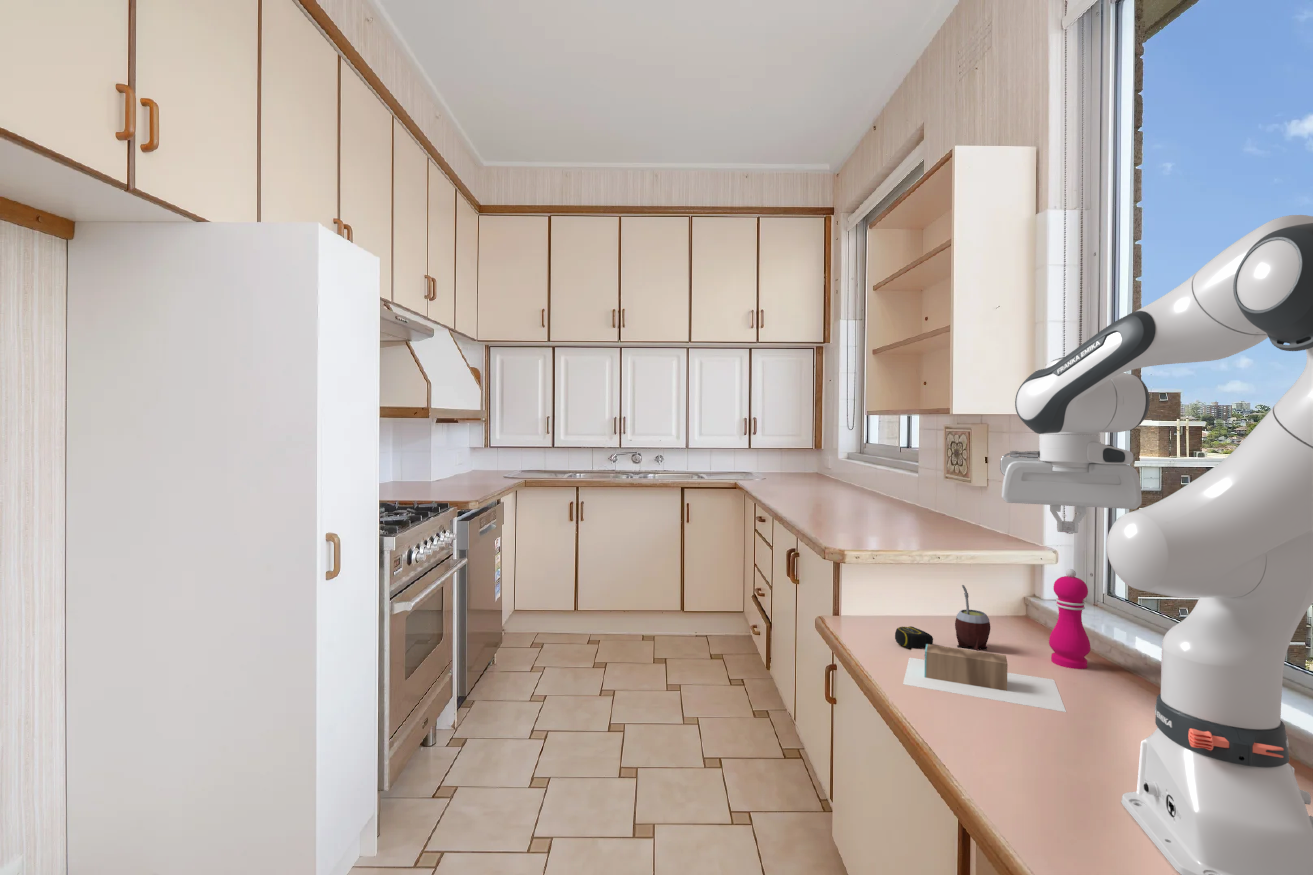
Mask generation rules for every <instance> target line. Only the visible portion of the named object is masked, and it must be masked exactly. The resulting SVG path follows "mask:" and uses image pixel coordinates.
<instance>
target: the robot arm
mask: <svg viewBox="0 0 1313 875" xmlns="http://www.w3.org/2000/svg"><path fill="white" fill-rule="evenodd" d="M1266 339H1269V341H1270V342H1271V344H1272V345H1273V347H1276V348H1277V349H1278V350H1281V351H1285V352H1286V351H1287V352H1300V351H1305V354H1306V364H1305V367H1304V370H1303V371H1302V373H1301V374H1300V376H1299V377H1298V378H1297V380H1296V381H1295V382H1294V383H1293V385H1292V386H1291V387H1289V389H1288V390H1287V391H1286V392H1285V393H1284V394H1283V395H1282V396H1281V397H1280V399H1279V400H1278V401H1277V402H1275V404H1274V406H1273V407H1272V408H1271V409H1270V410H1269V411H1268V413H1266V415H1264V417H1263V418H1262V419H1261V420H1260V422H1258V423H1257V425H1256V426H1255V427H1254V428H1253V429H1252V430H1251V431H1250V433H1249V434H1247V436H1245V438H1244V439H1243V441H1241V443H1240V444H1239V445H1238V446H1237V447H1236V448H1235V449H1234V450H1233V451H1232V452H1231V453H1230V454H1229V455H1228V456H1227V457H1225V458H1224V459H1223V460H1222V461H1220V462H1219V463H1218V464H1216V465H1214V467H1212V468H1210V469H1209V470H1208V471H1205V473H1203V474H1202V475H1200V476H1199V477H1197V478H1196V479H1194V480H1192V481H1191V482H1189V483H1188V484H1187V485H1184V486H1183V487H1182V488H1180V489H1178V490H1176V491H1175V492H1173V493H1172V494H1169V495H1168V496H1167V497H1166V496H1165V497H1164V498H1162V499H1160V500H1159V501H1157V502H1154V503H1152V504H1150V505H1147V506H1145V507H1142V508H1139V507H1140V506H1141V505H1142V502H1143V501H1142V487H1141V480H1140V476H1139V473H1138V471H1137V470H1136V468H1135V467H1134V466H1131V465H1130V464H1132V463H1133V461H1134V454H1133V452H1131V451H1130V450H1128V449H1123V448H1119V447H1115V446H1114V445H1111V444H1104V443H1101V434H1100V433H1122V432H1128V431H1129V432H1130V431H1132V430H1134V429H1136V428H1137V427H1139V426H1140V425H1141V424H1142V423H1143V422H1144V421H1145V419H1146V417H1147V415H1148V413H1149V409H1150V404H1151V397H1150V393H1149V389H1148V387H1147V385H1146V383H1145V382H1144V381H1143V380H1142V378H1140V377H1139V376H1137V375H1136V374H1133V373H1127V372H1128V371H1129V372H1130V371H1134V370H1136V369H1142V368H1149V367H1154V366H1155V367H1156V366H1162V365H1163V366H1164V365H1175V364H1189V363H1202V362H1211V361H1218V360H1222V359H1226V358H1229V357H1232V356H1234V355H1236V354H1239V353H1241V352H1244V351H1246V350H1249V349H1251V348H1253V347H1255V346H1257V345H1258V344H1260V343H1262V342H1263V341H1265V340H1266ZM1014 402H1015V404H1014V407H1015V412H1016V414H1017V416H1018V417H1019V419H1020V420H1021V421H1022V423H1023V424H1024V425H1026V426H1027V428H1029V429H1030V430H1031V431H1032V432H1034V433H1035V434H1037V435H1039V436H1038V442H1039V443H1038V450H1037V451H1035V450H1032V451H1031V450H1029V451H1028V450H1026V451H1019V450H1010V451H1009V452H1008V453H1004V455H1002V456H1001V458H1000V460H999V471H1000V472H1001V474H1002V475H1003V480H1002V483H1001V484H1002V486H1001V499H1003V501H1004V502H1006V503H1008V504H1010V503H1011V504H1022V505H1023V504H1025V505H1026V504H1028V505H1043V506H1044V505H1046V506H1049V512H1050V513H1051V515H1052V517H1054V519H1055V520H1056V531H1057V532H1059V533H1070V534H1071V533H1072V534H1078V533H1079V523H1081V521H1082V520H1083V519H1084V517H1085V516H1086V514H1087V507H1088V508H1089V507H1090V508H1101V509H1103V508H1106V509H1107V508H1108V509H1124V510H1125V509H1127V510H1134V511H1129V512H1127V513H1124V514H1122V515H1121V516H1119V517H1118V518H1117V519H1116V520H1115V521H1114V523H1113V524H1112V526H1111V528H1110V529H1109V532H1108V535H1107V540H1106V555H1107V557H1108V560H1109V563H1110V566H1111V568H1112V570H1113V571H1114V573H1115V574H1116V576H1118V578H1119V579H1120V580H1121V581H1122V582H1124V583H1125V585H1127V586H1129V587H1131V588H1132V589H1136V590H1138V591H1143V592H1148V593H1151V594H1158V595H1162V596H1167V597H1171V598H1182V599H1184V598H1190V599H1191V598H1198V599H1197V602H1196V604H1195V606H1194V607H1193V609H1192V610H1191V612H1190V613H1189V614H1188V615H1187V616H1186V617H1185V618H1184V619H1182V620H1181V621H1180V622H1178V623H1177V624H1174V625H1173V626H1172V627H1171V628H1169V630H1168V631H1167V632H1166V633H1165V634H1164V637H1163V639H1162V640H1161V666H1160V667H1161V668H1160V671H1161V672H1160V693H1159V694H1158V695H1157V696H1156V699H1155V700H1156V702H1155V705H1154V714H1155V721H1154V722H1155V725H1156V727H1157V728H1156V729H1155V731H1154V732H1152V733H1151V734H1150V735H1149V736H1148V737H1146V738H1143V739H1142V740H1141V742H1140V748H1139V758H1138V759H1139V760H1138V761H1139V762H1138V772H1137V786H1136V790H1135V791H1130V792H1129V791H1127V792H1125V793H1123V794H1122V796H1121V804H1122V806H1123V807H1124V809H1126V811H1127V812H1128V813H1129V814H1130V815H1131V817H1132V818H1133V819H1134V820H1135V822H1136V823H1137V825H1139V826H1140V828H1141V829H1142V830H1143V831H1144V833H1145V834H1146V835H1147V836H1148V838H1150V839H1149V840H1151V842H1153V844H1154V845H1155V846H1156V848H1158V850H1159V851H1160V852H1161V853H1162V855H1163V856H1164V857H1165V858H1166V859H1167V861H1168V862H1169V863H1170V865H1171V866H1172V868H1174V869H1175V871H1177V872H1178V874H1180V875H1313V816H1311V815H1309V813H1308V809H1307V807H1306V805H1311V803H1312V799H1311V793H1310V792H1309V791H1306V790H1303V789H1300V786H1299V783H1298V781H1297V778H1296V775H1295V768H1294V767H1293V766H1292V765H1291V764H1290V763H1289V762H1290V755H1289V754H1290V753H1289V745H1290V744H1289V737H1288V735H1287V732H1286V731H1287V730H1286V725H1285V723H1284V722H1283V720H1282V719H1281V717H1282V715H1281V714H1282V713H1281V712H1282V695H1283V693H1282V692H1283V681H1284V680H1283V679H1284V666H1285V660H1286V656H1287V653H1288V649H1289V647H1290V644H1291V641H1292V639H1293V637H1294V634H1295V632H1296V630H1297V629H1298V626H1299V624H1300V623H1301V621H1302V620H1303V618H1304V616H1305V614H1306V613H1307V611H1308V609H1309V608H1310V607H1311V606H1312V605H1313V215H1307V214H1291V215H1284V216H1280V217H1278V218H1273V219H1271V220H1269V221H1267V222H1266V223H1264V224H1262V225H1260V226H1258V227H1257V228H1254V230H1252V231H1250V232H1248V233H1247V234H1245V235H1244V236H1241V238H1239V239H1238V240H1236V241H1235V242H1233V243H1231V244H1230V245H1229V246H1228V247H1226V248H1224V249H1223V250H1222V251H1221V252H1220V253H1218V254H1217V255H1216V256H1214V257H1213V258H1212V259H1211V260H1209V261H1208V262H1207V263H1205V265H1203V266H1202V267H1201V268H1199V269H1198V270H1197V271H1196V272H1195V273H1194V274H1192V275H1191V276H1189V278H1187V279H1186V280H1185V281H1183V282H1182V283H1180V284H1179V285H1178V286H1176V287H1175V288H1173V289H1172V290H1170V291H1169V292H1167V293H1165V294H1164V295H1163V296H1161V297H1159V298H1158V299H1155V300H1154V301H1152V302H1150V303H1149V304H1147V305H1144V306H1143V307H1141V308H1139V309H1137V310H1135V311H1133V312H1130V313H1129V314H1127V315H1124V316H1123V317H1121V318H1118V319H1117V320H1116V321H1114V322H1112V323H1110V324H1109V325H1107V326H1106V327H1105V328H1103V329H1102V330H1100V331H1098V332H1097V333H1096V334H1094V335H1093V336H1091V337H1090V338H1089V339H1088V340H1086V341H1084V342H1083V343H1082V344H1081V345H1080V346H1078V347H1076V348H1075V349H1074V350H1072V351H1071V352H1070V353H1068V354H1067V355H1065V356H1064V357H1059V358H1056V359H1053V360H1052V361H1050V362H1047V364H1046V365H1045V367H1044V368H1042V369H1038V370H1035V371H1034V372H1033V373H1031V374H1030V375H1029V376H1028V377H1027V378H1025V380H1024V381H1023V382H1022V384H1021V385H1020V386H1019V388H1018V390H1017V391H1016V395H1015V401H1014ZM1063 506H1064V507H1065V506H1066V507H1067V506H1068V507H1074V512H1075V513H1077V514H1076V515H1075V516H1074V518H1073V519H1072V521H1068V520H1062V518H1061V517H1060V515H1059V513H1061V510H1062V507H1063ZM1138 508H1139V509H1138Z"/></svg>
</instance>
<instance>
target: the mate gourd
mask: <svg viewBox="0 0 1313 875" xmlns="http://www.w3.org/2000/svg"><path fill="white" fill-rule="evenodd" d="M961 587H962V589H963V592H964V593H963V594H964V599H965V606H966V607H965V609H961V610H959V611H958V612H957V614H956V617H955V620H954V628H955V635H956V640H957V645H956V646H957V647H956V648H958V649H965V650H972V651H979V652H980V650H984V651H985V650H986V651H987V650H988V646H987V643H988V642H989V641H988V640H989V637H990V633H991V623H990V622H991V621H990V618H989V617H988V615H987V613H985V612H983V611H980V610H976V609H970V604H969V592H968V591H967V590H968V589H967V588H966V586H965V585H964V584H962V585H961Z"/></svg>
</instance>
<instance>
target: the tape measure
mask: <svg viewBox="0 0 1313 875" xmlns="http://www.w3.org/2000/svg"><path fill="white" fill-rule="evenodd" d="M894 634H895V635H894V639H895V642H896V643H897V644H898V645H900V646H902V647H906V648H908V649H922V648H926V644H930V645H934V638H933V637H934V636H933V635H931V634H929V633H928V632H926V631H924V630H921V629H920V628H917V627H914V626H899V627H897V628H896V630H895V633H894Z"/></svg>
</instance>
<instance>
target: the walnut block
mask: <svg viewBox="0 0 1313 875" xmlns="http://www.w3.org/2000/svg"><path fill="white" fill-rule="evenodd" d="M924 648H925V649H924V660H925V675H924V677H925V678H931V679H937V680H943V681H949V682H955V683H961V684H968V685H974V686H980V687H986V688H992V689H998V690H1004V691H1007V673H1008V666H1009V665H1008V660H1007V655H1006V654H997V653H992V652H984V651H980V650H979V651H976V650H972V649H964V648H957V647H950V646H945V645H944V646H943V645H935V644H932V645H930V644H926V647H924Z"/></svg>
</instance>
